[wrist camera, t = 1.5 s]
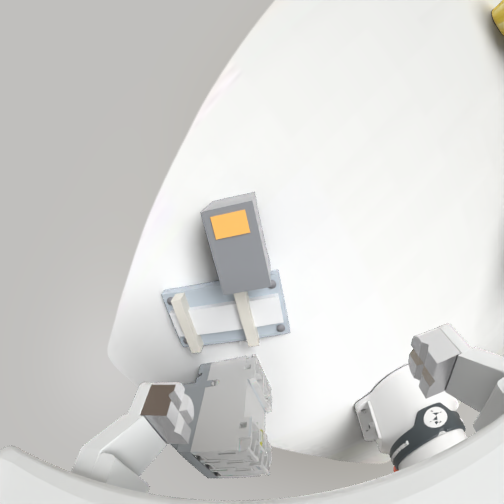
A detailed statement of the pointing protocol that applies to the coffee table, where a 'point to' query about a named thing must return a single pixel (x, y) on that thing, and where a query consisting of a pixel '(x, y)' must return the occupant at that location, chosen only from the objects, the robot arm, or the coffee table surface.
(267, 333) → the panel
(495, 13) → the plant pot
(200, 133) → the coffee table surface
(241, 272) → the module
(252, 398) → the circuit breaker
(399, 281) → the coffee table surface
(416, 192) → the coffee table surface
